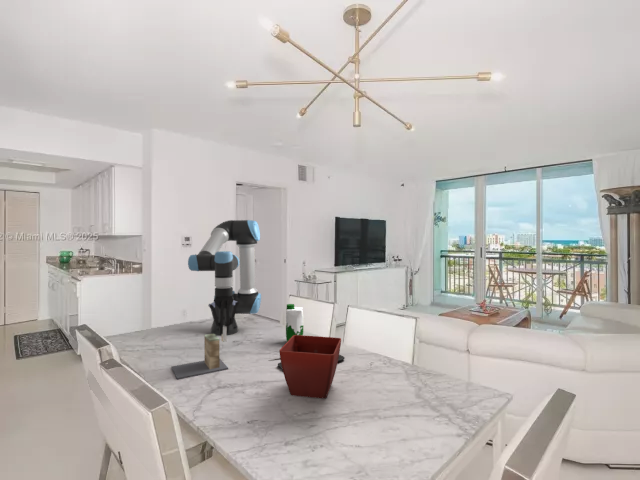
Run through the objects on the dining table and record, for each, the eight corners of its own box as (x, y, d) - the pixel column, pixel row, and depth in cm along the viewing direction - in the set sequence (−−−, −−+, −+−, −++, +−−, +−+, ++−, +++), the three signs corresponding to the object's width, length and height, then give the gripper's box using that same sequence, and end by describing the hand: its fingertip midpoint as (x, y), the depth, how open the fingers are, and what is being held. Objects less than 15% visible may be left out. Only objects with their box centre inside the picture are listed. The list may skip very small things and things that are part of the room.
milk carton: (286, 340, 185) (286, 303, 185) (303, 340, 185) (303, 303, 184) (284, 345, 176) (284, 306, 176) (302, 345, 176) (302, 306, 176)
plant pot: (333, 405, 114) (333, 354, 114) (278, 399, 118) (278, 350, 118) (341, 381, 133) (341, 337, 133) (293, 377, 137) (293, 334, 137)
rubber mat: (219, 359, 157) (219, 357, 157) (228, 369, 145) (228, 367, 145) (171, 367, 146) (171, 366, 146) (177, 379, 134) (177, 378, 134)
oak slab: (213, 360, 153) (213, 333, 153) (219, 367, 146) (219, 338, 145) (204, 362, 151) (204, 334, 151) (209, 369, 143) (209, 340, 143)
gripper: (235, 284, 157) (235, 336, 157) (206, 287, 150) (206, 341, 151) (241, 286, 151) (241, 340, 151) (210, 289, 144) (211, 345, 144)
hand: (223, 341), depth 151 cm, fingers closed
